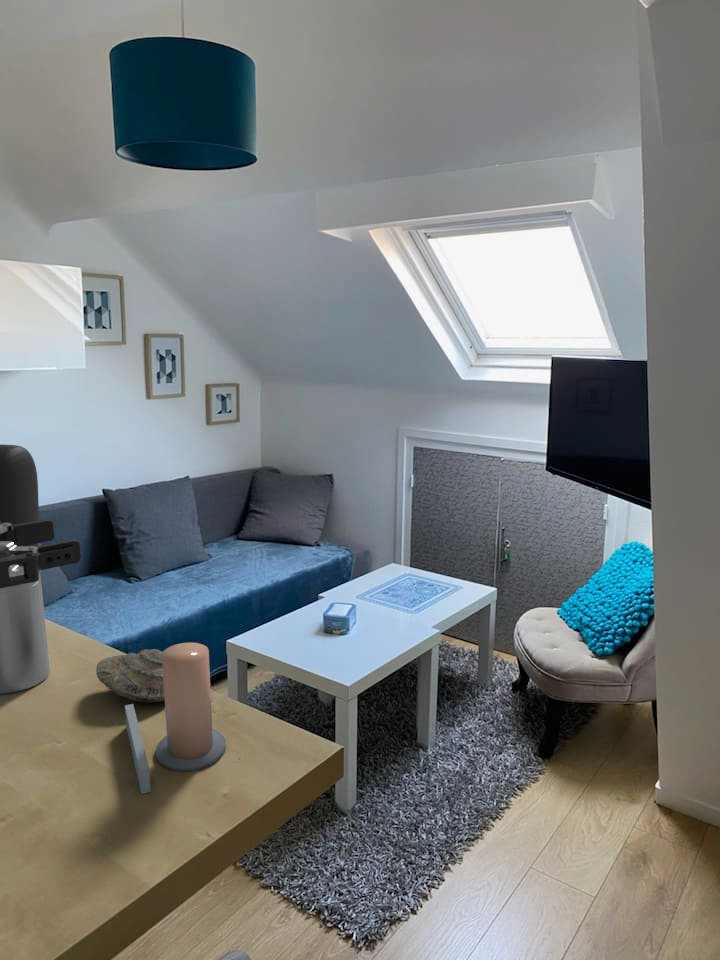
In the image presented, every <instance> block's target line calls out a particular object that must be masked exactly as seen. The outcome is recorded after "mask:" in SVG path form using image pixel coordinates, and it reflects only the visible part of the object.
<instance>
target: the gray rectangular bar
mask: <svg viewBox="0 0 720 960" xmlns="http://www.w3.org/2000/svg"><path fill="white" fill-rule="evenodd" d="M124 711H125V713H124V714H125V724H126V725H125V726H126V732H127V737H128V741H129V745H130V750H131V754H132V759H133V763H134V767H135V772H136V777H137V781H138V785H139V791H140V794H141V795H145V794H147V793H151V791H152V790H151V773H150V772H151V771H150V766H149V762H148V757H147V754H146V753H147V752H146V749H145V746H144V742H143V741H144V740H143V737H142V734H141V731H140V726H139V721H138V718H137V717H138V716H137V714H136V710H135V707H134V703H131V704H125V705H124Z"/></svg>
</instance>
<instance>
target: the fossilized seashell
mask: <svg viewBox="0 0 720 960" xmlns="http://www.w3.org/2000/svg"><path fill="white" fill-rule="evenodd" d="M162 653H163V651H162V650H160V649H155V648H153V649H142V650H140V652H138V653H135V652H128V653H126V654H121V655H120V654H119V655H115V656H114V655H113V656H109V657H105V658H103V659H102V660H100V661H99V662H98V663H97V665H96V671H95V672H96V676H97V678H98V680H99V681H100V682H101V683H102V684H103V685H104V686H105V687H106V688H107V689H108V690H110V691H112V692H114V693H115V694H116V695H117V696H120V697H123V698H126V699H129V700H131V701H134V702H139V703H160V702H165V698H164V682H163V666H162Z"/></svg>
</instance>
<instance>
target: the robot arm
mask: <svg viewBox="0 0 720 960" xmlns="http://www.w3.org/2000/svg"><path fill="white" fill-rule="evenodd" d="M38 482H39V479H38V471H37V467H36V463H35V460H34V458H33V456H32V454H31V452H29V450H28V449H26V448H25V447H23V446H21V445H16V444H0V694H9V693H10V694H11V693H15V692H20V691H23V690H26V689H30V688H32V687H34V686H37V685H38V684H40V683H41V682H43V681H44V680H46V678H48V676H49V675H50V673H51V669H50V658H49V656H50V655H49V649H48V648H49V647H48V636H47V635H48V634H47V625H46V616H45V608H44V607H45V605H44V598H43V597H44V596H43V585H42V578H41V573H42V571H43V570H49V569H52V568H58V567H59V568H60V567H64V566H68V565H73V564H77V563H79V562H80V561H81V558H82V555H81V544H80V542H79V541H77V540H76V539H72V538H71V539H67V540H63V541H61V540H60V541H57V542H52V541H53V540H54V538H55V530H54V529H55V528H54V523H53V521H51V520H50V519H47V518H46V519H40V509H39V507H40V505H39V503H40V502H39V483H38ZM47 542H52V543H47ZM40 543H45V544H40Z"/></svg>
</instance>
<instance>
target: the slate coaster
mask: <svg viewBox="0 0 720 960" xmlns="http://www.w3.org/2000/svg"><path fill="white" fill-rule="evenodd" d="M212 733H213V747H212V749H211V750H210V751H209V752H208V753H207V754H205V755H203V756H201V757H199V758H195V759H189V760H183V759H177V758H174V757H172V756H171V755H170V754H169V753H168V746H167V735H165V736H164V737H163V738H161V739H160V741H158V743H157V746H156V749H155V753H156V754H155V755H156V760H157V762H158V763H159V764H160V765H161V766H162V767H164V768H166V769H168V770H172V771H179V772H192V771H197V770H200V769H204V768H207V767H208V766H211V765H213V764H214V763H216V762H217V761H219V760H220V759H221V758H222V757H223V755H224V754H225V752H226V748H227V747H226V746H227V744H226V738H225V736H224V734H222V733H221V732H220V731H219V730H217V729H214V728H212Z"/></svg>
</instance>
